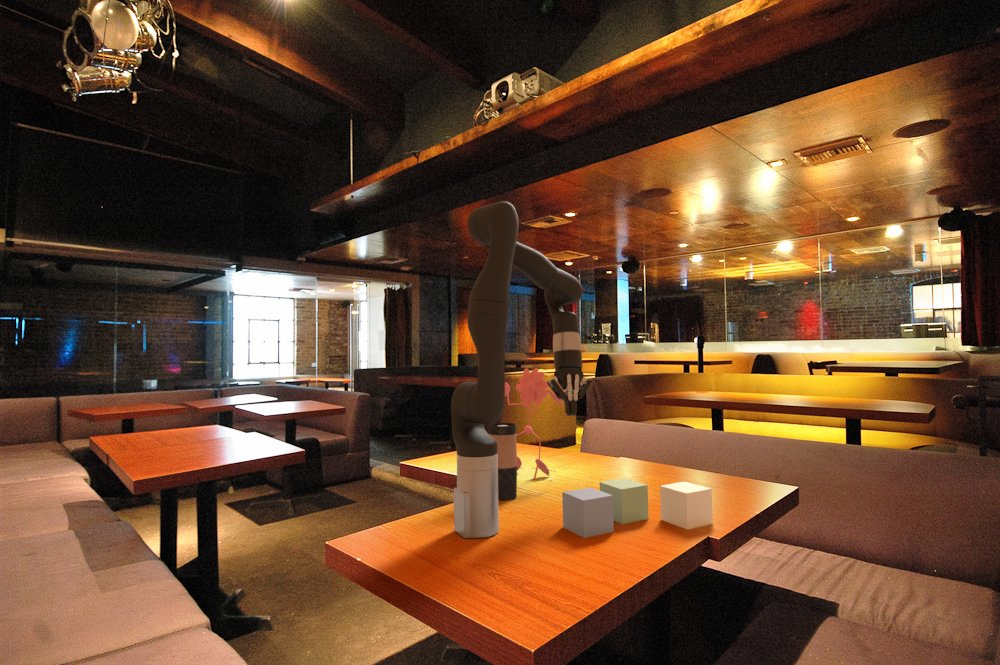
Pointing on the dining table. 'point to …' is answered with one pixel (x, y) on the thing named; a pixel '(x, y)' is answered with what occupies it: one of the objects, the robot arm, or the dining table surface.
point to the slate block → (588, 512)
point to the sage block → (627, 499)
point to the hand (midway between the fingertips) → (571, 415)
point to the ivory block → (686, 505)
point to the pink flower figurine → (531, 391)
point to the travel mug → (506, 459)
